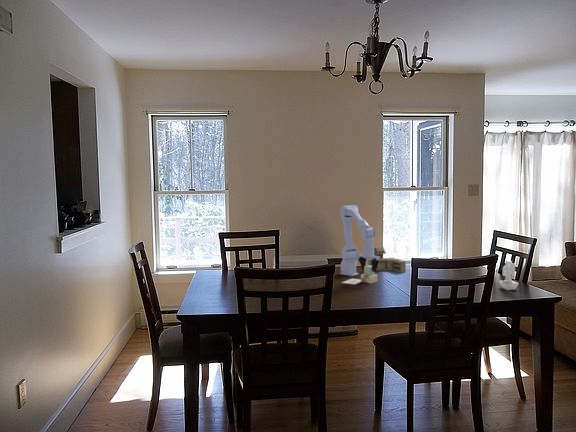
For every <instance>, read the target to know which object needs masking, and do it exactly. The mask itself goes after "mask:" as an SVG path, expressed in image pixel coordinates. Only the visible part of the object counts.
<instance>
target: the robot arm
mask: <svg viewBox="0 0 576 432" xmlns="http://www.w3.org/2000/svg"><path fill="white" fill-rule="evenodd" d="M339 213H340V219H341V220H342V226H343V236H344V246H343V247H342V248H341V255H340V256H341V259H342V260H341V262H340V273H339V274H340V275H344V276H350V277H353V276H356V275H359V274H360V273H359V272H357V260H358V262H359V264H360V266H361V270H362V271H364V266H367V265H366V262H367V260H370V259H373V260H371V263H372V271H373V272H375V273H376V272H377V271H376V268H377V265H378V263H379V261H380V257H379V256H375V255H374V237H375V236H376V229H375V228H374V227H373V226H370V225H369V223H368V222H367V221H366V219H364V218H362V216H361V214H360V212H359V207H358V206H357V204H353V205H351V204H350V205H342V206H340V208H339ZM352 220H354V221H355V222H356V225H357V227H358V229H359V230H360V233H361V238H362V241H363V254H362V253H359V251H358V247H357V246H356V245H354V238H353V229H352V228H353V227H352Z"/></svg>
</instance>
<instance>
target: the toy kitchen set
mask: <svg viewBox="0 0 576 432" xmlns="http://www.w3.org/2000/svg"><path fill="white" fill-rule="evenodd" d="M373 250H374V255H375V256H379V257H380V261H379V263H378V265H377V268H376V272H377V271H378V272H379V271H384V270H385V271H395V272H397V273H400V272H401V273H400V274H402V272H404V273H406V271H407V269H406V267H407V265H406V264H407V263H406V260H401V259H398V258H395V257H384V254H385V255H386V253H387V252H386V250H385V248H384V246H373ZM371 260H373V259H367V265H371V266H372V263H371Z"/></svg>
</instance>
